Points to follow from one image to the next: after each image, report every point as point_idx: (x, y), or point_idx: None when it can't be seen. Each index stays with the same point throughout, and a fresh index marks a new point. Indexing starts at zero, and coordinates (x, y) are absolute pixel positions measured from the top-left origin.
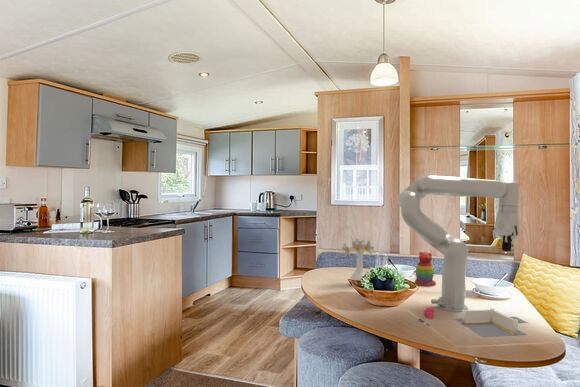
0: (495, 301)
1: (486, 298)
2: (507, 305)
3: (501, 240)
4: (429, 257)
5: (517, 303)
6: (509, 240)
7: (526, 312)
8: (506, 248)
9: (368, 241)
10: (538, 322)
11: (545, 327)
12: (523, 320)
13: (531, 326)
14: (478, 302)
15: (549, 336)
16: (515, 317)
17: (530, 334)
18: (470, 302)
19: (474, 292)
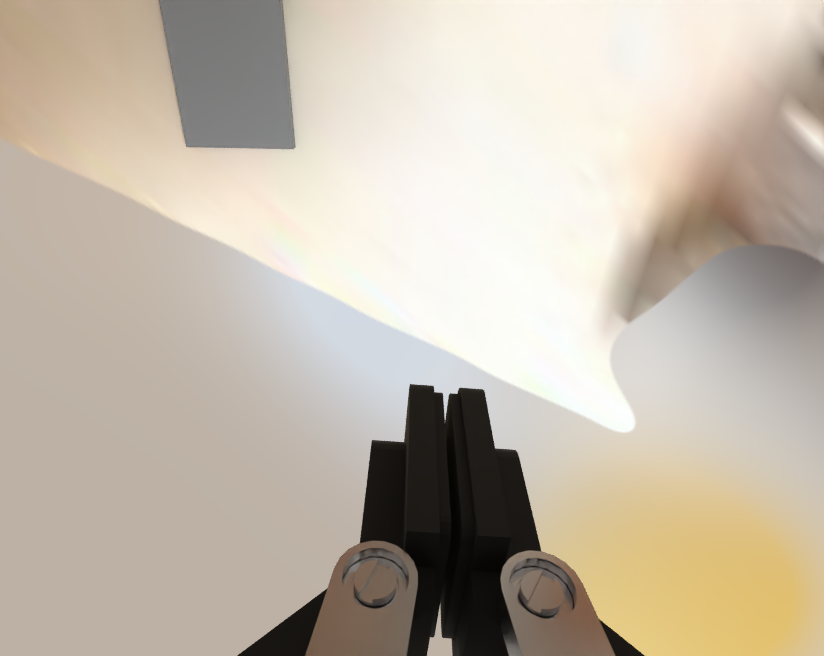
0: (602, 254)
1: (672, 239)
2: (517, 273)
3: (570, 573)
4: None
5: (535, 354)
6: (280, 636)
7: (388, 290)
8: (393, 447)
9: None
10: (228, 232)
11: (152, 209)
12: (227, 147)
13: (158, 137)
14: (619, 116)
15: (6, 119)
16: (279, 136)
17: (12, 16)
18: (638, 47)
19: (810, 248)
